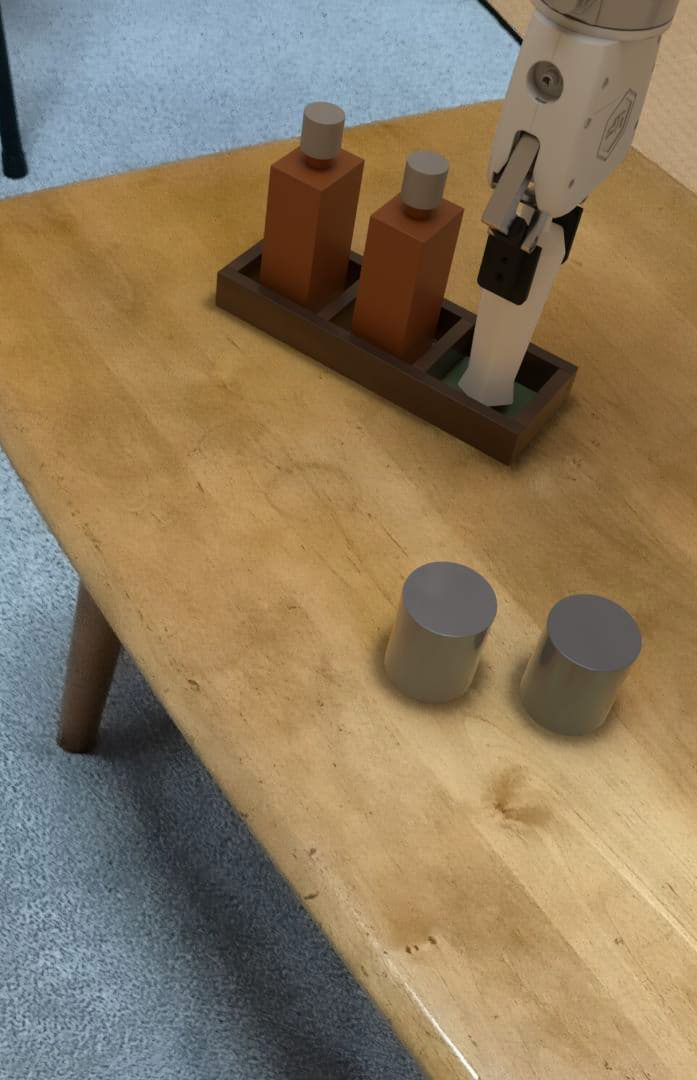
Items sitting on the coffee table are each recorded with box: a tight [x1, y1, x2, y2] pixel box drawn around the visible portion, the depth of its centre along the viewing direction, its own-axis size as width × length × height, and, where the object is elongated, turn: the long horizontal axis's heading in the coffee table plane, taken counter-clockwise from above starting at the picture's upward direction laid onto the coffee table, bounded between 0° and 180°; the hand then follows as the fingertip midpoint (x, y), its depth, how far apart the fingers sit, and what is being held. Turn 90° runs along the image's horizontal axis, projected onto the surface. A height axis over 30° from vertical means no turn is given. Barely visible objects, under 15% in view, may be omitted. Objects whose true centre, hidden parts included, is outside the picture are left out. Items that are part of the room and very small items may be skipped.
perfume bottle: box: [458, 185, 565, 406], centre depth 77 cm, size 5×4×15 cm
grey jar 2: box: [519, 593, 643, 737], centre depth 66 cm, size 5×5×7 cm
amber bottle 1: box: [259, 101, 366, 314], centre depth 82 cm, size 4×5×15 cm
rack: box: [214, 237, 580, 467], centre depth 85 cm, size 9×24×4 cm, turn 56°
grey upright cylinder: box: [383, 561, 498, 705], centre depth 66 cm, size 5×5×7 cm
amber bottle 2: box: [349, 149, 465, 365], centre depth 80 cm, size 4×5×15 cm
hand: (522, 271), depth 75 cm, fingers closed on perfume bottle, 4 cm apart
